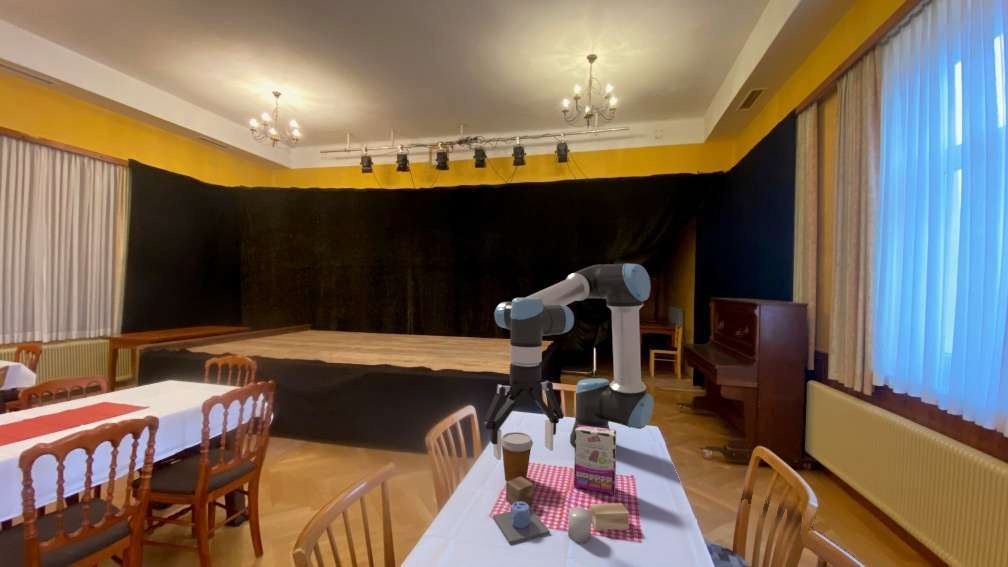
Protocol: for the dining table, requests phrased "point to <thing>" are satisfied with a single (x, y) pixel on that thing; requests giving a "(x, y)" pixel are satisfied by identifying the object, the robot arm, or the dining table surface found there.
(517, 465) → the disposable coffee cup
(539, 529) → the slate coaster
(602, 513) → the maple bar
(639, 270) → the robot arm
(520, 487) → the walnut cube
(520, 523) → the decorative dice
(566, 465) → the dining table surface
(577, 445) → the candy bar box
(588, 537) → the grey plastic cylinder
